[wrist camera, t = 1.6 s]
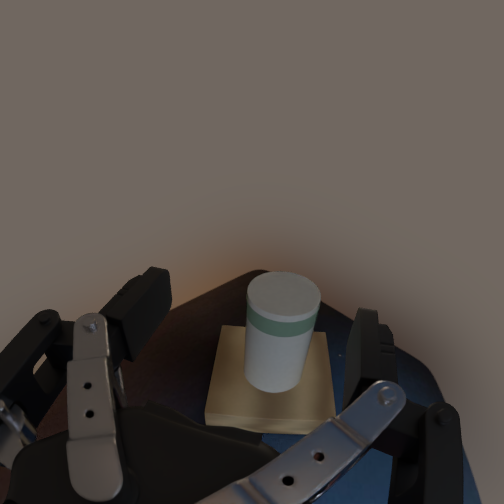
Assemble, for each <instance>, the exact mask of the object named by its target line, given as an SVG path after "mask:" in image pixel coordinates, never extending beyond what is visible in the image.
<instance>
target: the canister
mask: <svg viewBox="0 0 504 504" xmlns="http://www.w3.org/2000/svg"><path fill="white" fill-rule="evenodd" d="M320 301H321V294H320V291H319V289H318V287H317V286H316V285H315V284H314V283H313V282H312V281H311V280H309V279H308V278H306V277H304V276H301V275H299V274H295V273H291V272H283V271H277V272H268V273H265V274H262V275H259V276H257V277H256V278H254V279H253V280H252V281H251V282H250V284H249V286H248V289H247V296H246V328H245V348H244V368H243V370H244V375H245V377H246V379H247V380H248V381H249V383H250V384H252V385H253V386H254V387H256V388H257V389H259V390H262V391H265V392H271V393H278V392H284V391H287V390H289V389H291V388H293V387H294V386H296V385H297V384H298V383H299V381H300V380H301V377H302V374H303V370H304V366H305V363H306V359H307V355H308V351H309V347H310V343H311V339H312V335H313V331H314V327H315V323H316V320H317V317H318V312H319V308H320Z"/></svg>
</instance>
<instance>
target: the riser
mask: <svg viewBox="0 0 504 504" xmlns="http://www.w3.org/2000/svg"><path fill="white" fill-rule="evenodd" d="M245 328H246V327H238V326H227V325H222V329H221V334H220V338H219V343H218V348H217V353H216V358H215V363H214V368H213V372H212V377H211V382H210V387H209V392H208V397H207V402H206V407H205V420H206V425H213V426H232V427H236V428H240V429H244V430H249V431H253V432H261V433H278V434H309V433H310V432H311V431H313V430H314V429H315V428H317V427H318V426H319V425H320V424H322V423H323V422H324V421H325V420H327V419H328V418H330V417H332V416H333V417H334V418H335V417H336V412H335V403H334V394H333V385H332V377H331V369H330V362H329V354H328V347H327V340H326V333H325V332H313V335H312V339H311V343H310V347H309V351H308V355H307V359H306V363H305V366H304V370H303V374H302V377H301V380H300V381H299V383H298V384H297V385H296V386H294V387H293V388H291V389H289V390H287V391H284V392H278V393H271V392H265V391H262V390H259V389H257V388H256V387H254V386H253V385H252V384H250V383H249V381H248V380H247V379H246V377H245V375H244V370H243V368H244V348H245Z"/></svg>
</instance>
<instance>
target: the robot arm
mask: <svg viewBox="0 0 504 504" xmlns="http://www.w3.org/2000/svg"><path fill="white" fill-rule="evenodd" d="M171 303H172V295H171V285H170V275H169V272H168V270H166V269H161V268H157V267H150V268H149V269H148V270H147V271H146V272H145V273H144V274H143V275H142V276H141V275H138V276H136V277H134V278H132V279H131V280H129V281H128V282H127V283H126V284H125V285H124V286H123V287H122V289H120V290H119V291H118V292H117V294H116V295H114V297H113V298H112V299H111V300H110V301H109V302H108V303H107V304H106V305H105V306H104V307H103V308H102V309H101V310H100V311H99V313H88V314H85V315H83V316H81V317H80V318H78V319H77V320H76V322H73V321H61V319H60V316H59V314H58V312H57V311H55V310H51V309H47V310H43V311H40V312H39V313H37V314H36V315H35V316H34V317H33V318H32V319H31V320H30V321H29V322H28V323H27V324H26V325H25V326H24V327H23V328H22V330H21V331H20V332H19V333H18V334H17V335H16V336H15V337H14V338H13V340H12V341H11V342H10V343H9V344H8V345H7V346H6V347H5V349H4V350H3V351H2V352H1V353H0V466H2V467H7V468H8V469H9V470H11V480H10V486H9V491H8V494H7V497H6V500H5V501H4V503H3V504H312V503H313V502H315V501H316V500H317V499H318V498H320V497H321V496H322V495H323V494H324V493H325V492H327V491H328V490H329V489H330V488H331V487H332V486H333V485H334V484H335V483H336V482H337V481H338V480H340V479H341V478H342V477H343V476H344V475H345V474H346V473H347V472H348V471H349V470H350V469H351V468H352V467H353V466H354V465H355V464H356V463H357V462H358V461H359V460H360V459H361V458H362V457H363V456H364V455H365V454H366V453H367V452H368V451H369V450H370V449H371V448H374V449H376V450H379V451H381V452H384V453H386V454H389V455H391V456H393V462H392V472H391V482H390V490H389V498H388V504H463V454H462V439H461V428H460V418H459V414H458V412H457V411H456V409H455V408H454V407H453V406H451V405H450V404H448V403H445V402H435V403H433V404H431V405H430V406H429V407H428V408H426V407H424V406H421V405H419V404H416V403H414V402H411V401H410V400H408V399H407V398H406V395H405V393H404V391H403V389H402V388H401V387H400V386H399V385H398V378H397V367H396V357H395V348H394V339H393V334H392V332H391V331H390V329H389V327H388V326H387V325H385V324H379V323H378V313H377V310H371V309H365V308H358V311H357V314H356V317H355V320H354V323H353V326H352V329H351V332H350V335H349V338H348V342H347V348H346V366H345V382H344V396H343V408H342V413H340V414H339V415H338V416H337V417H335V418H334V417H333V416H332V417H330V418H328V419H327V420H325V421H324V422H323V423H322V424H320V425H319V426H318V427H317V428H315V429H314V430H313V431H311V432H310V433H309V434H308V435H306V436H305V437H304V438H302V439H301V440H300V441H298V442H297V443H296V444H294V445H293V446H292V447H290V448H289V449H288V450H286V451H285V452H283V453H282V454H280V453H279V452H277V451H276V450H275V449H274V448H272V447H271V446H269V445H267V444H266V443H264V442H261V439H262V433H257V432H253V431H249V430H244V429H240V428H236V427H232V426H213V425H201V424H198V423H196V422H195V421H193V420H191V419H190V418H188V417H186V416H185V415H183V414H181V413H180V412H178V411H177V410H175V409H173V408H170V407H167V406H164V405H161V404H158V403H156V402H153V401H150V400H148V402H147V403H146V405H145V407H138V406H134V407H128V403H127V399H126V393H125V388H124V381H123V375H122V368H121V365H120V363H121V361H122V360H123V359H126V360H128V361H131V362H133V361H134V360H135V359H136V357H137V356H138V354H139V353H140V351H141V350H142V349H143V347H144V346H145V344H146V343H147V341H148V340H149V339H150V337H151V336H152V334H153V333H154V332H155V330H156V329H157V327H158V326H159V325H160V323H161V322H162V320H163V319H164V318H165V316H166V315H167V313H168V312H169V310H170V308H171ZM44 353H45V355H46V357H47V359H46V360H45V361H44V362H43V364H42V365H41V366H40V367H39V369H38V370H37V371H36V373H35V374H34V375H33V368H34V366H35V364H36V363H37V361H38V360H39V359H40V358H41V356H42V355H43V354H44ZM66 383H67V408H68V427H69V429H68V430H66V431H63V432H60V433H58V434H55V435H52V436H50V437H47V438H44V439H41V440H39V441H37V440H36V435H37V430H36V428H37V427H38V425H39V423H40V422H41V420H42V419H43V417H44V416H45V414H46V413H47V411H48V410H49V408H50V407H51V405H52V404H53V402H54V401H55V399H56V398H57V396H58V395H59V393H60V392H61V391H62V389H63V388H64V386H65V385H66Z"/></svg>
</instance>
